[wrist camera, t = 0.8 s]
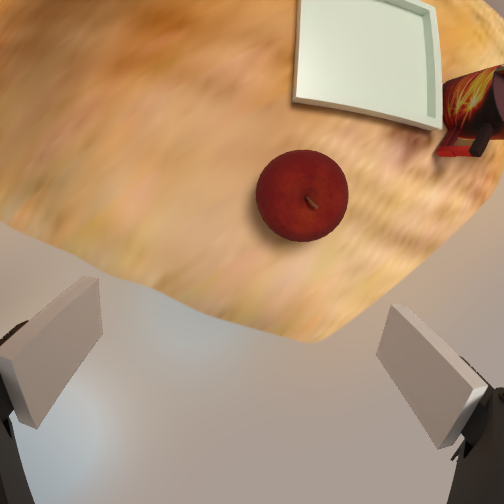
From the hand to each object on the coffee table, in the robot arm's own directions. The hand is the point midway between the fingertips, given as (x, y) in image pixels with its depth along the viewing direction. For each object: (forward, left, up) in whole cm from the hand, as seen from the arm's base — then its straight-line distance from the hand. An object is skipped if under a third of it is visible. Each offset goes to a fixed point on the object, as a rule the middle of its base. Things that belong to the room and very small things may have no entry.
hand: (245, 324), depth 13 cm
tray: (-25, +15, -26) cm, 39 cm away
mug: (-18, +31, -26) cm, 45 cm away
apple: (-4, +6, -26) cm, 27 cm away
